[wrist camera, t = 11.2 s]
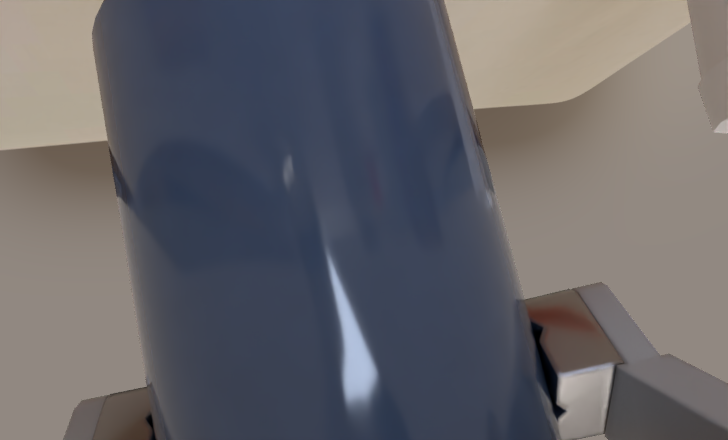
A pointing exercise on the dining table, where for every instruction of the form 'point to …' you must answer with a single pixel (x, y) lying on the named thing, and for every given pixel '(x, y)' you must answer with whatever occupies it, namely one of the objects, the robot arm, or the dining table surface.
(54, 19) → the dining table surface
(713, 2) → the foam cup
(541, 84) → the dining table surface
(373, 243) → the jar
